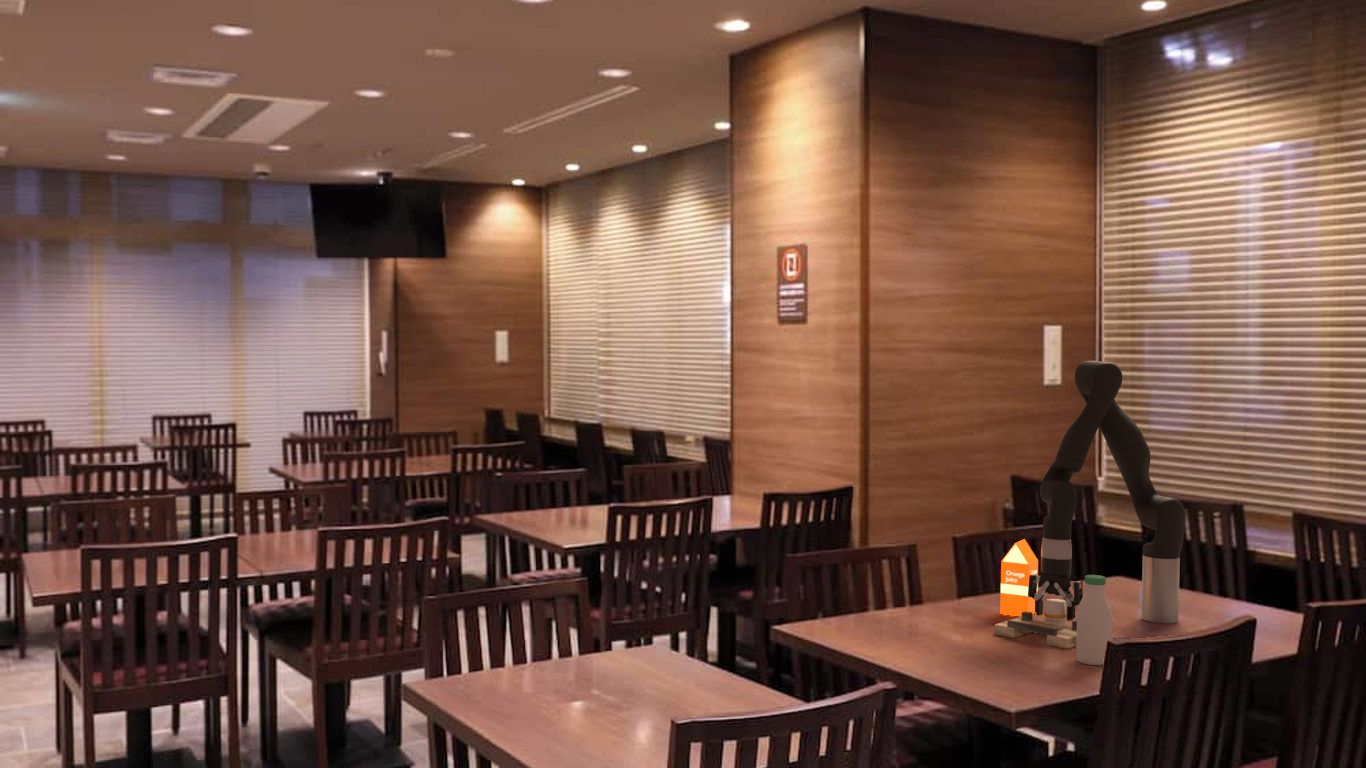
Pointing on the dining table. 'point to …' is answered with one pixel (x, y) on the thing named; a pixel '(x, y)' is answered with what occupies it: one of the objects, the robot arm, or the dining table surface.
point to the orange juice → (1017, 580)
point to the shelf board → (1039, 630)
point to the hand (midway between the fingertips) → (1054, 617)
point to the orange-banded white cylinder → (1055, 611)
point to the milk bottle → (1093, 622)
